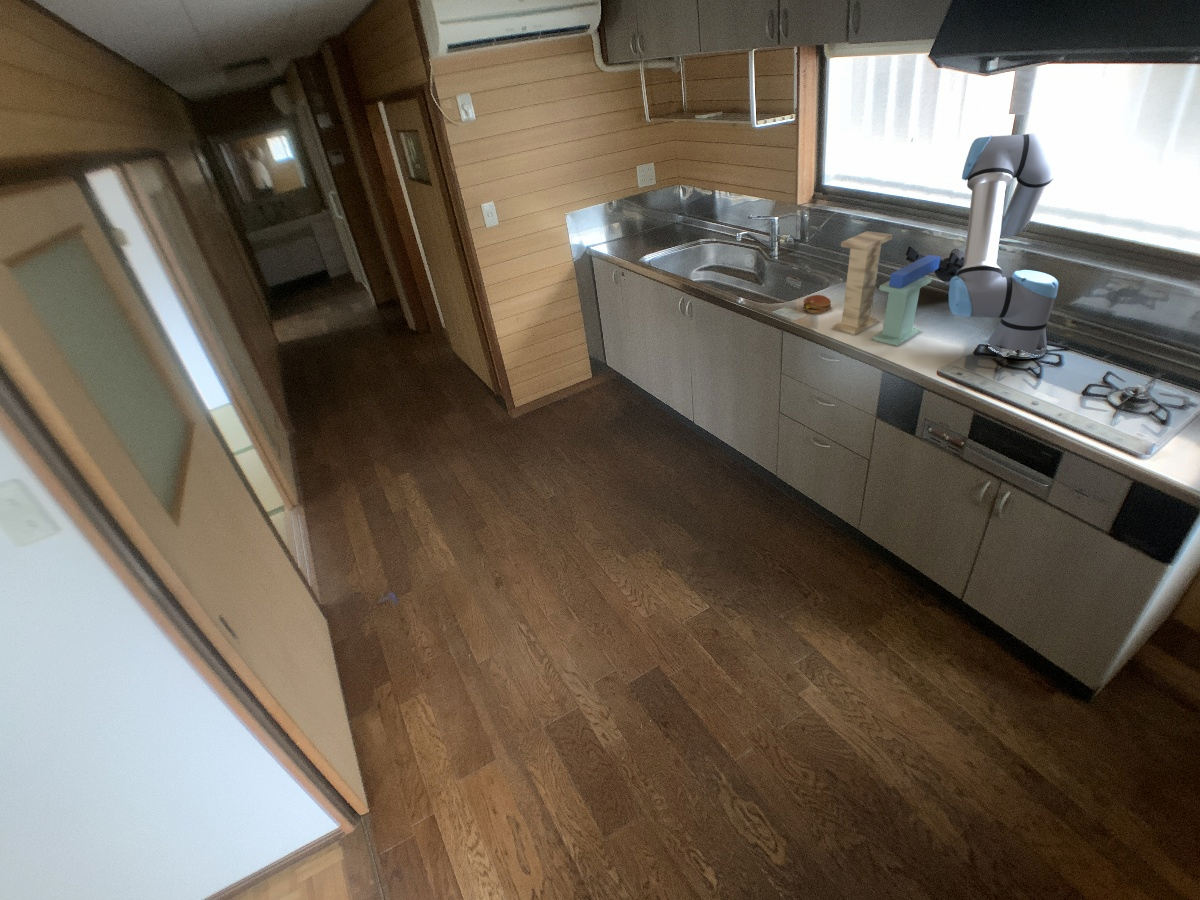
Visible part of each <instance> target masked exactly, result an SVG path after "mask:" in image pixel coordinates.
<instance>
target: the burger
mask: <svg viewBox="0 0 1200 900" xmlns="http://www.w3.org/2000/svg"><path fill="white" fill-rule="evenodd" d="M831 302H832V301H831V300H830V298H829V297H828V296H825V295H821V294H814V295H810V296H807V297H806V298H804V299H803V307H802V308H803V309H804V310H805V311H806V312H808V314H813V315H814V314H815V315H820V314H824V313H825V312H828V311H829V310H831V308H832V303H831Z"/></svg>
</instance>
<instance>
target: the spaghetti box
mask: <svg viewBox="0 0 1200 900" xmlns="http://www.w3.org/2000/svg"><path fill="white" fill-rule="evenodd" d="M924 256H925V257H923V258H921V259H919V260H917V261H915V262H910V263H908V264H907V265H905V266H904V267H901V268H899V269H897V270H895V271H892V272H891V273H890V276H889V277H890V278H889V281H890V283H889V286H891V287H896V288H903V287H905V286H907V285H908V284H910V283H912V282H914V281H916V280H918V279H920V278H922V277H924V276H927V275H929V274H931V273H933V272H935V270H937V269H938V268H939V263H940V259H942V256H940V255H934V254H928V255H924Z"/></svg>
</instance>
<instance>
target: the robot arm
mask: <svg viewBox="0 0 1200 900" xmlns="http://www.w3.org/2000/svg"><path fill="white" fill-rule="evenodd" d="M1058 158H1059V157H1058V153H1057V151H1056V148H1055V146H1054V145H1053V143H1052V142H1051V141H1050V140H1049V139H1048V138H1047V137H1045V136H1043V135H1041V134H1038V133H1026V134H1008V135H1007V134H1006V135H994V136H993V135H989V136H980V137H977V138H975V139H974V140H973V141H972V143H971V145H970V148H969V150H968V153H967V156H966V159H965V162H964V166H963V170H962V175H961V179H962V180H963V181H967V183H966V186H967V188H968V189H969V190H970V191H971V198H970V207H969V216H968V224H967V231H966V232H967V240H966V249H965V253H964V252H963V251H960V250H959V249H956V248H955V249H953V250H952V251H951V253H950V252H949V257H944V258H940V263H939V268H938V269H937V270H935V271H934V275H935V277H936V278H937V279H939V280H940V281H942V282H943V283H944V284H945V286H947V287H949V290H948V307H949V310H950V313H951V314H952V315H954V316H955V317H957V316H958V317H966V318H970V317H973V318H999V319H1000V321H999V324H997V327H996V328H995V330H994V331H993V332H992V334H991V335H990V337H989V338H988V341H987V343H988V344H990V345H991V347H992V348H993V349H995V350H996V351H999V352H1006V351H1016V350H1023V351H1025V352H1028V353H1031V354H1034V355H1038V356H1036V359H1040V358H1042V357H1045V355H1046V352H1047V348H1048V346H1049V347H1054V348H1060V349H1066V350H1067V349H1069V345H1065V344H1059V343H1054V342H1048V341H1047V330H1046V329H1047V325H1048V321H1049V319H1050V315H1051V314H1052V313H1051V312H1052V309H1053V306H1054V303H1055V300H1056V298H1057V295H1058V290H1059V285H1060V284H1059V281H1058V279H1056V278H1055V277H1054V276H1053V275H1050V274H1048V273H1045V272H1041V271H1036V270H1031V269H1029V270H1028V269H1020V270H1015V271H1014V272H1013V274H1012V275H1011V276H1003V269H1002V268H1001V267H1000V266H999V265H998V262H997V259H998V250H999V242H1000V235H1001V236H1005V237H1011V236H1014V235H1016V234H1018V233H1020V232H1021V231H1023V229H1024V228H1025V227H1026V225H1027V224H1028V223H1030V221H1031V219H1032V217H1033V215H1034V213H1035V211H1036V208H1037V206H1038V204H1039V202H1040V200H1041V197H1042V195H1043V193H1044V190H1045V188H1046V187H1047V186H1049V185H1050V184H1052V182H1053V180H1054V178H1055V176H1056V173H1057V170H1058V163H1059V160H1058ZM1014 179H1016V182H1017V183H1016V185H1015V188H1014V191H1013V193H1012V196H1011V197H1010V201H1009V203H1008V205H1007V209H1006V210H1005V213H1004V205H1005V197H1006V188H1007V187H1008V186H1010V185H1011V184H1012V182H1013V180H1014ZM1003 214H1004V216H1003ZM1028 225H1029V224H1028ZM905 256H906V257H905V260H906V261H908V262H909V263H913V262H915V261H917V260H919V259H921V258H923V257H925V256H926V255H923V254H920V253H919V252H918V251H917V250H916V249H915V248H914V247H912V246H908V247H907V250H906V252H905ZM987 351H988V352H989V353H991V354H993V355H995V356H998V357H1001V358H1003V357H1002V354H999V353H996V352H994V351H992V350H991V349H990V348H988V349H987ZM1039 355H1040V356H1039ZM1036 359H1035V360H1036Z"/></svg>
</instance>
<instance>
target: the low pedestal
mask: <svg viewBox="0 0 1200 900" xmlns="http://www.w3.org/2000/svg"><path fill="white" fill-rule="evenodd" d="M932 280H933V277H931V276H927V275H925V276H924V277H922V278H920V279H918V280H916V281H914V282H912V283H910V284H908V285H907V286H905V287H903V288H896V287H891V286H889V283H890V280H888V281H886V282H883V283H882V284H880V285H879V287H878V290H879V291H882V292H886V293H888V295H887V301H886V302H887V303H886V306H885V314H884V320H883V327H882V331H881V332H879V333H877V334H875V335H874V336H873V338H872V340H873V341H877V342H880V343H884V344H888V345H892V346H896V347H899V346H900V345H902V344H903V343H905V342H906V341H908V340H910V339H911V338H913V337H914V336H917V335H918V334H919V333H920V332H921V328H917V327H914V324H915V318H916V312H917V307H918V301H919V296H920V290H921V288H924V287H925V286H927V285H928V284H931V283H932Z"/></svg>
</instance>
